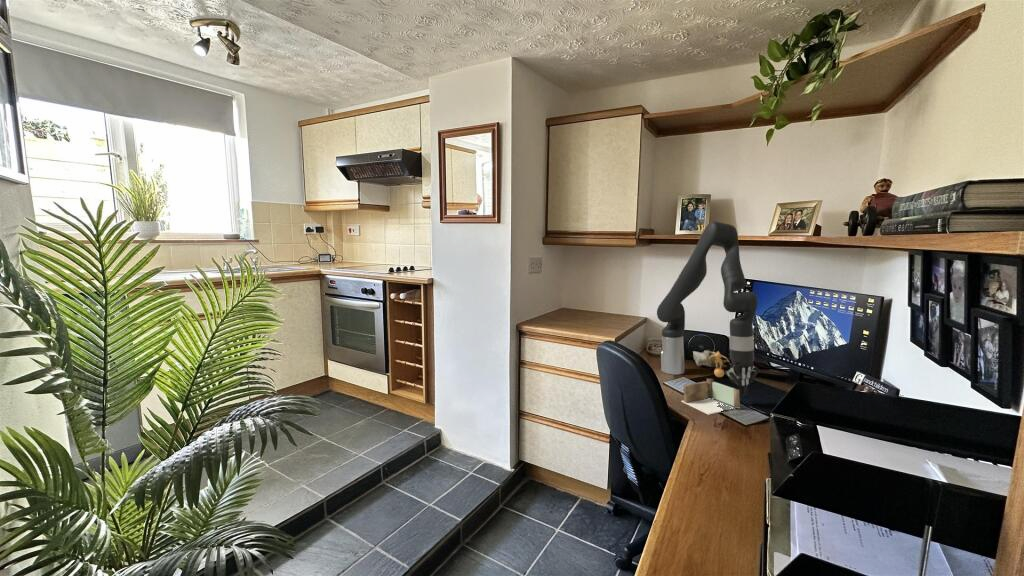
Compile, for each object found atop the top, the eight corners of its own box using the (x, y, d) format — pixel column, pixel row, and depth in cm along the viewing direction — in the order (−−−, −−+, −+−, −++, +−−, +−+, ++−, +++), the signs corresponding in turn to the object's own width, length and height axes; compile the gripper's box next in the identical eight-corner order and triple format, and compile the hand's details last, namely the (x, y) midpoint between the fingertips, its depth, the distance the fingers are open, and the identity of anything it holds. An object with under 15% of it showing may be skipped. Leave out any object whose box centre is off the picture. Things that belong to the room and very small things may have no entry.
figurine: (730, 376, 171) (729, 349, 170) (729, 380, 166) (728, 353, 165) (709, 374, 176) (708, 348, 175) (707, 378, 170) (707, 351, 170)
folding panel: (712, 398, 147) (711, 382, 146) (715, 397, 147) (715, 381, 147) (737, 407, 137) (736, 391, 136) (741, 406, 137) (740, 390, 137)
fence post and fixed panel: (687, 404, 144) (686, 385, 144) (683, 402, 147) (682, 383, 146) (715, 398, 148) (714, 379, 147) (710, 396, 150) (710, 378, 150)
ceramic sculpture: (694, 345, 195) (728, 348, 188) (693, 362, 196) (727, 366, 189) (692, 350, 186) (728, 354, 179) (691, 368, 187) (727, 372, 180)
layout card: (708, 414, 134) (708, 413, 134) (681, 401, 147) (681, 400, 147) (740, 408, 138) (739, 406, 138) (710, 395, 151) (710, 394, 151)
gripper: (734, 352, 135) (735, 401, 136) (765, 347, 138) (766, 395, 139) (718, 347, 142) (719, 394, 143) (748, 343, 145) (749, 388, 146)
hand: (742, 394), depth 141 cm, fingers closed
